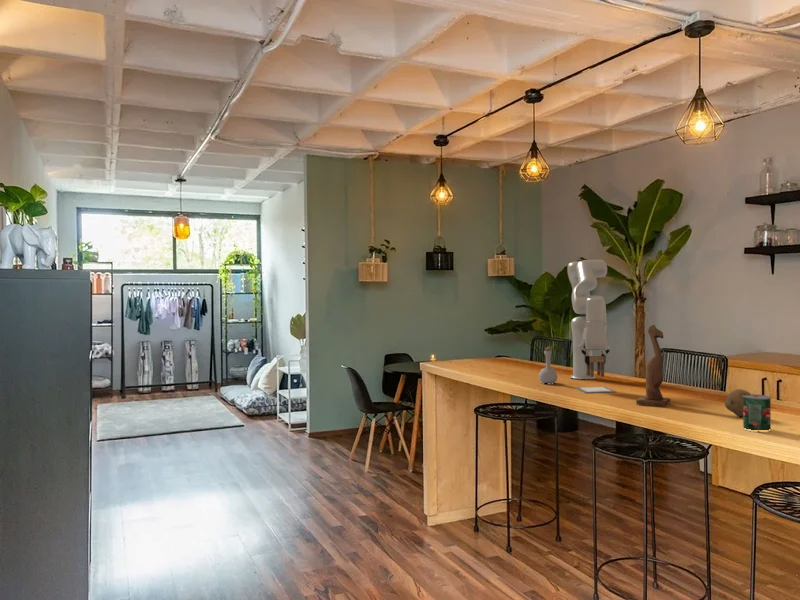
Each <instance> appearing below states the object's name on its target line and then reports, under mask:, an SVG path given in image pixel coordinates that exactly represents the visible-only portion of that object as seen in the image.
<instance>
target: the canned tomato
mask: <svg viewBox="0 0 800 600" xmlns="http://www.w3.org/2000/svg"><path fill="white" fill-rule="evenodd" d="M771 403H772V402H771V396H769V395H764V394H754V393H752V394H751V393H750V394H747V395H743V417H742V419H743V422H742V423H743V424H742V425H743V426H742V427H744V428H746V429H751V430H769V429H771V427H772V426H771V418H772V417H771V405H772V404H771ZM771 430H772V429H771Z"/></svg>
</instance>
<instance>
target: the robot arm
mask: <svg viewBox="0 0 800 600" xmlns="http://www.w3.org/2000/svg"><path fill="white" fill-rule="evenodd" d="M607 273H608V264H607V263H606V261H605V260H604V259H583V260H578V261H577V260H576V261H572V262H569V263H568V265H567V276H568V280H569V283H570V285H571V289H572V292H571V304H572V310H573V311H574V313H575V314H579V315H585V316H576V317H574V318H572V319H571V321H570V328H571V333H572V334H571V335H572V370H573V371H572V373H573V374H571V375H569V378H570V379H572V378H573V380H581V379H586V381H587V379H589V380H595V379H596V378H597V377H596V376H597V375H594V377H590V376H587V369H586V364H587V365H589V364H590V363H589V356H593V351H600V354H601V355H600V356H604V357H605V362H604V366H605V364H606V362H607V361H606V359H607V358H606V356H607V355H608V354H609V353H610V352H611V350H612V349H613V346H612V345H611V344H610V343H609V342H608V338H607V329H608V326H607V325H608V324H607V307H606V300H605V298H604V297H603V295H602V296H601V295H591V293H590V292H592V291H594V290H595V289H596V288H597V285H598V280H597V278H604V277H606V275H608V274H607Z"/></svg>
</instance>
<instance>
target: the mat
mask: <svg viewBox="0 0 800 600" xmlns="http://www.w3.org/2000/svg"><path fill="white" fill-rule="evenodd" d="M574 388H575V390H578V391H580V392H582V393H584V394H609V393H614V392H615V393H617V391H615V390H613V389H612V388H608V387H606V386H575V387H574ZM615 393H614V394H615Z"/></svg>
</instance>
